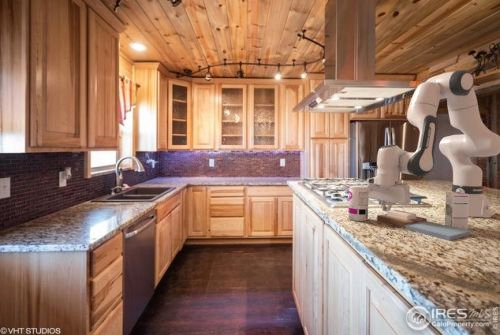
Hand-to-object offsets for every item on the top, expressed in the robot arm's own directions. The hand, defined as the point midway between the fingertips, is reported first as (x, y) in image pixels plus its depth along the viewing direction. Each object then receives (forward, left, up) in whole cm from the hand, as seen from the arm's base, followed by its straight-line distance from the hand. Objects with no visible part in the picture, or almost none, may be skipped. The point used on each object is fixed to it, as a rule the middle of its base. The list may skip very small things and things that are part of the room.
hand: (386, 211), depth 124 cm
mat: (0, +22, -4) cm, 22 cm away
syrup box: (-11, +23, -4) cm, 26 cm away
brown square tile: (0, +7, -4) cm, 8 cm away
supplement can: (+12, -5, -4) cm, 14 cm away
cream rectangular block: (0, +7, -1) cm, 7 cm away
